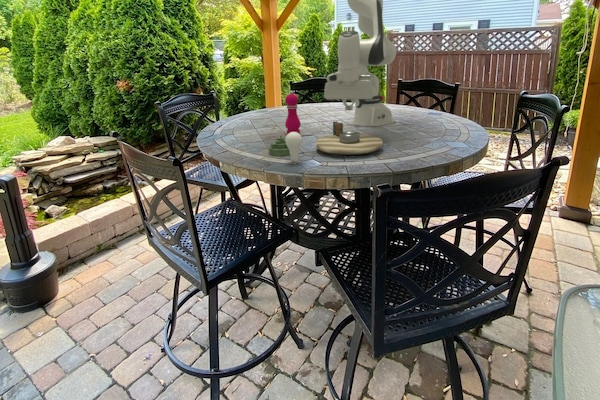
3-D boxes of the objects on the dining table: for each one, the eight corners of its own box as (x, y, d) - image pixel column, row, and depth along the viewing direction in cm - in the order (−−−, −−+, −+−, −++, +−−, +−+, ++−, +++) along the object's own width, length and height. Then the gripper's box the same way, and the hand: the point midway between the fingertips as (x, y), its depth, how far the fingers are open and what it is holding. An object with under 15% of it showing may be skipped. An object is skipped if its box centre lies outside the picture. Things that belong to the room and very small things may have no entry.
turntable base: (357, 140, 159) (357, 137, 159) (384, 151, 142) (384, 147, 142) (315, 147, 152) (315, 143, 152) (339, 159, 135) (339, 155, 135)
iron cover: (339, 139, 150) (339, 129, 149) (359, 138, 149) (359, 129, 148) (339, 144, 143) (339, 134, 141) (360, 143, 142) (360, 133, 141)
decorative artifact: (297, 150, 151) (274, 149, 153) (296, 133, 148) (273, 132, 151) (290, 157, 142) (265, 156, 144) (289, 139, 139) (264, 138, 142)
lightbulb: (292, 158, 139) (291, 129, 135) (306, 160, 136) (305, 131, 132) (283, 163, 135) (281, 133, 130) (296, 165, 131) (295, 134, 127)
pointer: (328, 139, 164) (327, 121, 161) (338, 138, 165) (338, 120, 162) (332, 142, 159) (331, 123, 156) (343, 141, 160) (343, 122, 157)
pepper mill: (299, 135, 173) (297, 91, 165) (284, 135, 174) (281, 91, 167) (302, 132, 179) (300, 89, 172) (287, 132, 181) (285, 89, 173)
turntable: (317, 137, 160) (317, 122, 157) (378, 136, 157) (379, 121, 155) (314, 154, 136) (313, 137, 134) (386, 153, 134) (387, 135, 131)
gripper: (375, 73, 149) (374, 108, 155) (326, 74, 155) (326, 108, 161) (374, 75, 144) (373, 111, 150) (322, 77, 149) (323, 111, 155)
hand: (348, 109), depth 155 cm, fingers closed
